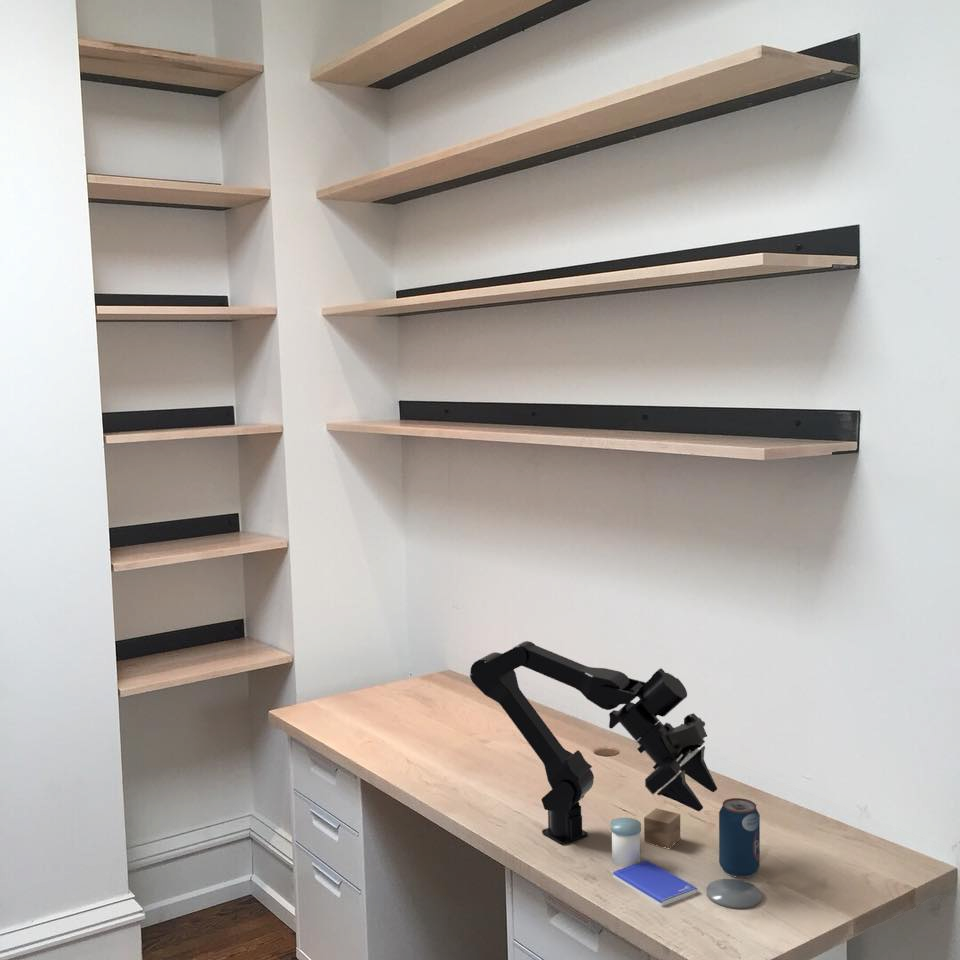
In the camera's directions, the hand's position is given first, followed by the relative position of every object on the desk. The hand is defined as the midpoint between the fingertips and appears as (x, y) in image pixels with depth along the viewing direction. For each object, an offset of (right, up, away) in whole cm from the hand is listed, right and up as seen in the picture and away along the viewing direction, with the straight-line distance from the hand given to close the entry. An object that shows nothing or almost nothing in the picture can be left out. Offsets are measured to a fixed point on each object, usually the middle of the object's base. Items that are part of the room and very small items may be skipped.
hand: (708, 799), depth 184 cm
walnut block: (-6, -11, +11) cm, 17 cm away
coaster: (+2, -13, -10) cm, 16 cm away
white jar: (-14, -12, +3) cm, 19 cm away
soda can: (+5, -12, -1) cm, 13 cm away
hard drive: (-11, -13, -6) cm, 18 cm away
